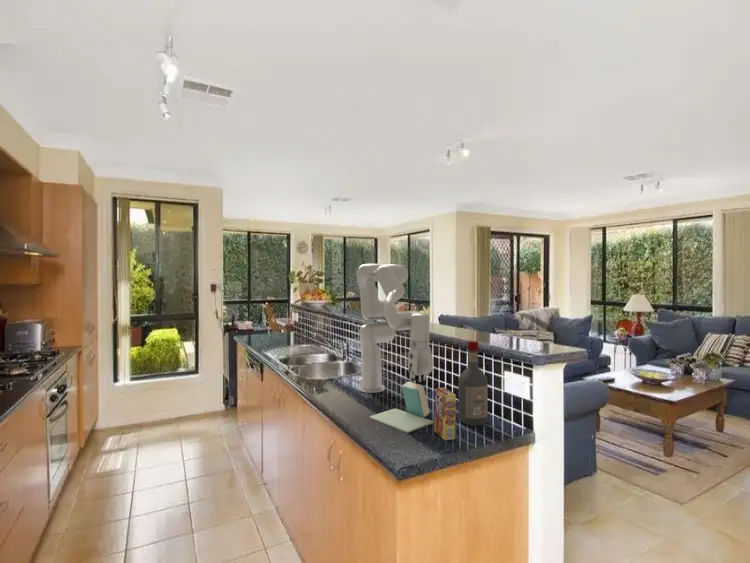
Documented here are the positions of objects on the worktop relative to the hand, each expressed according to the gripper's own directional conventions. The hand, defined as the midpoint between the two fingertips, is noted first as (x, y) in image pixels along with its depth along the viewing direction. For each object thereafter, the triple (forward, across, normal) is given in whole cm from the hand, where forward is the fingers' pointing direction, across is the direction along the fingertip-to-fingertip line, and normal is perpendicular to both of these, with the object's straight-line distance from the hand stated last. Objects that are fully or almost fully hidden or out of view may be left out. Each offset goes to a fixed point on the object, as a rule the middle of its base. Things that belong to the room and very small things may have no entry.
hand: (419, 390), depth 162 cm
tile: (+9, -1, 0) cm, 9 cm away
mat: (+9, -11, 0) cm, 14 cm away
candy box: (+9, -10, -20) cm, 24 cm away
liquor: (+9, +8, -19) cm, 23 cm away
